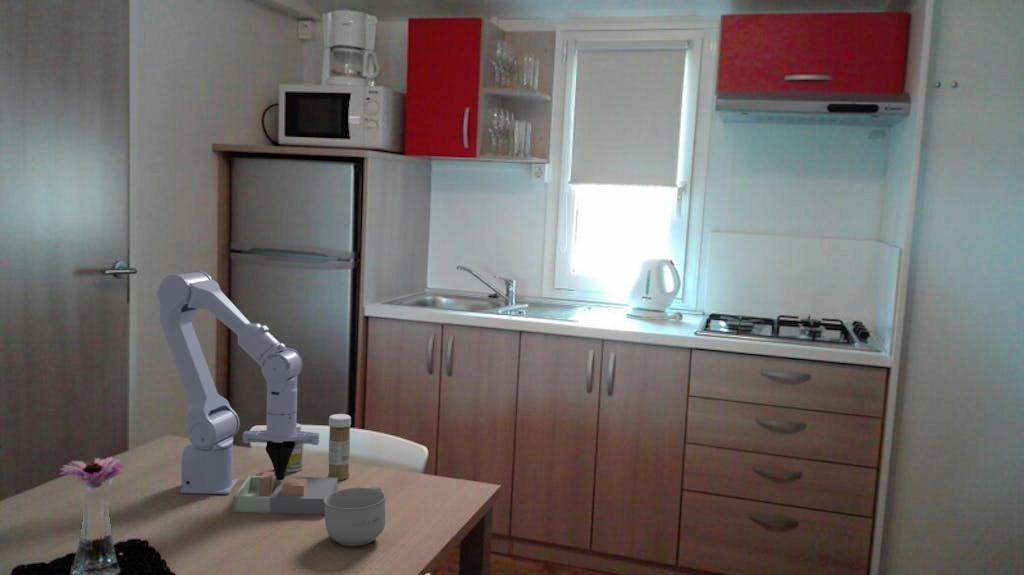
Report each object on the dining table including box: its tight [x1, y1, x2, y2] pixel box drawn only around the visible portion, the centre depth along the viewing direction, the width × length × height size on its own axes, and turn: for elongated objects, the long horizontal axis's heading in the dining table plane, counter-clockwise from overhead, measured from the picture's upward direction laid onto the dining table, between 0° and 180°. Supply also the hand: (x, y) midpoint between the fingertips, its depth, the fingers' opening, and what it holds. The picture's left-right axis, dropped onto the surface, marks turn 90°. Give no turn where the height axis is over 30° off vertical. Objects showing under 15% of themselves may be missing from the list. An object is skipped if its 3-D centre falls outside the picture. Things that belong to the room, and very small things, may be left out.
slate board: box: [269, 476, 339, 515], centre depth 167 cm, size 11×12×3 cm
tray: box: [232, 475, 281, 514], centre depth 167 cm, size 7×12×3 cm, turn 4°
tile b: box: [282, 478, 307, 496], centre depth 164 cm, size 4×4×2 cm
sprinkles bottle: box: [327, 413, 352, 481], centre depth 182 cm, size 5×5×13 cm
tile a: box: [259, 471, 275, 497], centre depth 169 cm, size 4×4×2 cm
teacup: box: [324, 485, 387, 547], centre depth 152 cm, size 14×11×8 cm
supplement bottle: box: [286, 422, 305, 473], centre depth 186 cm, size 5×5×10 cm
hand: (280, 478), depth 169 cm, fingers closed
